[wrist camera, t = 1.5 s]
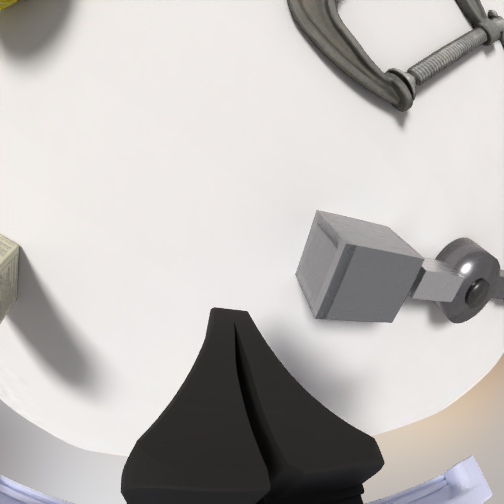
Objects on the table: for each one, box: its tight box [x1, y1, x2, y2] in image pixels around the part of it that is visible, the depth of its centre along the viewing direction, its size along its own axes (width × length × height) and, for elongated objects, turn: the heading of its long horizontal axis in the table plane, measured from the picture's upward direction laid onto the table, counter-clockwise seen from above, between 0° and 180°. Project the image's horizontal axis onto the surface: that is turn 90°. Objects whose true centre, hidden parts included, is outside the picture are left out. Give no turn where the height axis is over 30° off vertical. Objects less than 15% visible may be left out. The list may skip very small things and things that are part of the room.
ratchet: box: [408, 238, 504, 323], centre depth 23 cm, size 25×7×4 cm, turn 77°
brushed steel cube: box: [296, 210, 425, 323], centre depth 19 cm, size 6×5×5 cm
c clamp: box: [287, 0, 504, 112], centre depth 13 cm, size 20×17×3 cm
